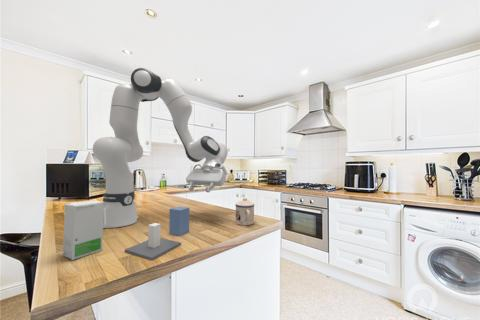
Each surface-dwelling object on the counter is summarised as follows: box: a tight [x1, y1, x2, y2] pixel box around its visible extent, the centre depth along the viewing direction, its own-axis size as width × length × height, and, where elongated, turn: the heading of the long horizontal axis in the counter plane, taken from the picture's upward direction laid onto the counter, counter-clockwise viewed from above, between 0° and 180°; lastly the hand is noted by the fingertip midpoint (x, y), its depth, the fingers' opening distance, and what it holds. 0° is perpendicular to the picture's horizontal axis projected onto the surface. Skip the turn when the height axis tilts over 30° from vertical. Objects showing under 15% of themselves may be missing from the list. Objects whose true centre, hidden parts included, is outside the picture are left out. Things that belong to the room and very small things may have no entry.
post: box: [124, 222, 182, 261], centre depth 65 cm, size 12×12×8 cm
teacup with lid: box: [235, 197, 255, 226], centre depth 93 cm, size 12×9×12 cm
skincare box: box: [62, 200, 104, 261], centre depth 62 cm, size 8×7×16 cm
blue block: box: [168, 205, 190, 237], centre depth 80 cm, size 5×5×10 cm
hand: (198, 190), depth 91 cm, fingers open, 8 cm apart
